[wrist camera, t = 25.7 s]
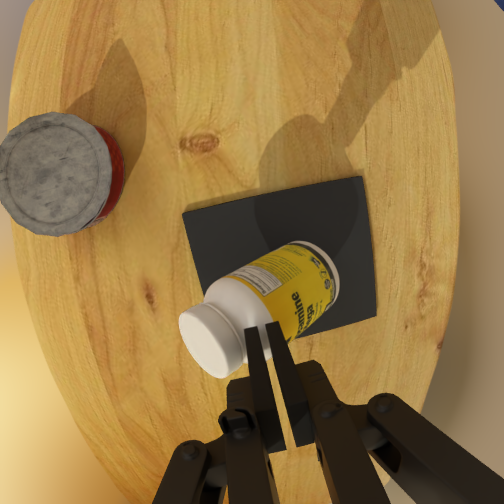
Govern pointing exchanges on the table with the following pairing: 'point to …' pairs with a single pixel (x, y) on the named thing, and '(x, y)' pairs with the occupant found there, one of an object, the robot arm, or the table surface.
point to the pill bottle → (259, 305)
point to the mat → (289, 230)
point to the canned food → (59, 174)
